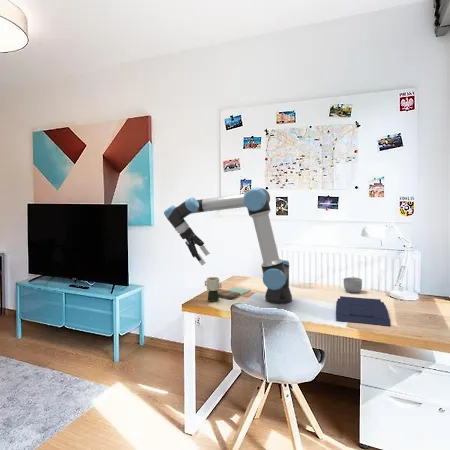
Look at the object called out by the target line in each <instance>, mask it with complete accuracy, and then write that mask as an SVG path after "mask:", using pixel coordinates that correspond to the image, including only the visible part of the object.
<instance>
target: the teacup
mask: <svg viewBox="0 0 450 450" xmlns="http://www.w3.org/2000/svg"><path fill="white" fill-rule="evenodd" d="M342 280H343V288H344V290H345V291H346V292H347V293H351V294H354V293H359V292H361V291H362V288H363V278H360V277H355V276H351V277H350V276H348V277H344V278H343V279H342Z"/></svg>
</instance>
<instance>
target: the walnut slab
mask: <svg viewBox="0 0 450 450" xmlns="http://www.w3.org/2000/svg"><path fill="white" fill-rule="evenodd" d="M226 290H227V289H222V288H219V289H218V290H217V292H218V298H225V299H229V300H233V298H235V297H237V298H238V296H241V295H240V293H237V292H232V291H226Z"/></svg>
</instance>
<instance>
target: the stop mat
mask: <svg viewBox="0 0 450 450" xmlns="http://www.w3.org/2000/svg"><path fill="white" fill-rule="evenodd" d="M225 290H226V291H232V292H237V293H240V295H239V296H242V295H245V294H248V293H251V292H252V290H251V289H247V288H243V287H236V286H233V287H230V288H228V289H225Z"/></svg>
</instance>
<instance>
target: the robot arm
mask: <svg viewBox="0 0 450 450" xmlns="http://www.w3.org/2000/svg"><path fill="white" fill-rule="evenodd" d="M270 201H271V195H270V193H269V191H267V189H265V188H263V187H253V188H250V189H248V190H247V191H245V192H244V193H239V194H231V195H226V196H216V197H209V198H203V199H202V198H201V199H196V198H195V197H189V198H188V199H186V200H185V201H183V202H182V203H181V204H179V205H178V206H175V205H173V204H172V205H171V206H169V207H168V208H166V209H165V210H164V211H163V214H164V216H165V218H166V219H167V221H168V222H169V223H170V224H171V226H172V227H173V228H174V231H176V232H177V234H179V237H180V238H181V239H182V240H185V241H184V242H185V245H186V246H187V248H188V250H189V252H190V254H191V256H192V258H195V259H196V260H197V261H198V262H199V264H200V265H201V266H203V265H205V264H206V261H205V260H204V259H203V257H202V256H201V254H200V253H198V250H197V247H196V246H199V249H200V250H201V251H202V253H203V254H204V255H205V257H206V256H209V255H210V254H211V253H210V251H209V250H208V249H207V248H206V247H205V242H204V241H203V240H202V239H201V238H200V237H199V236H198V235H197V234H195V232H194V231H193V229H192V227H190V225H189V224H188V223H187V220H185V219H184V218H186V217H188V216H190V215H192V214H193V215H194V214H198V213H207V212H214V211H215V212H216V211H223V210H233V209H241V208H246V209H247V213H248V216H249V217H250V218H251V219H252V220H253V221H252V222H253V225H254V229H255V233H256V237H257V242H258V245H259V250H260V254H261V255H260V256H261V258H262V263H261V271H262V282H263V285H264V286H265V287H266V288H267V289H266V292H265V295H264V300H265V301H266V302H268V303H271V304H279V305H280V304H281V305H282V304H283V305H284V304H289V303H291V302H292V301H293V295H292V293H291V288H290V261H289V260H286V259H281V258H280V256H279V252H278V247H277V244H276V241H275V236H274V231H273V227H272V224H271V219H270V216H269V214H270V213H271V207H270Z"/></svg>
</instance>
